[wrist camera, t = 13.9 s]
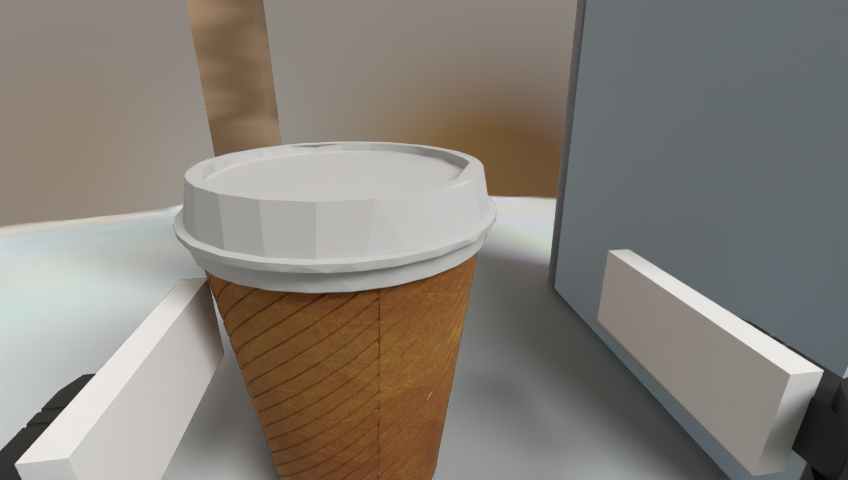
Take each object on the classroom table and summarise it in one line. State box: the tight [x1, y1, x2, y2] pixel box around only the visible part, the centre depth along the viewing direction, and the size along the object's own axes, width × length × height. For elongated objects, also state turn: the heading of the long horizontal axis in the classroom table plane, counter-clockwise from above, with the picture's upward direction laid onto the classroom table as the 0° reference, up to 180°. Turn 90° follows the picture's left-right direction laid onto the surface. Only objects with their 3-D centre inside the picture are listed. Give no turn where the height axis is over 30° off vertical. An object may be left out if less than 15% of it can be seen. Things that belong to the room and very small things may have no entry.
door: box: [548, 0, 848, 480], centre depth 19 cm, size 19×4×20 cm, turn 8°
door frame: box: [186, 0, 282, 157], centre depth 25 cm, size 26×3×25 cm, turn 98°
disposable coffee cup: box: [173, 142, 497, 480], centre depth 15 cm, size 10×10×12 cm
